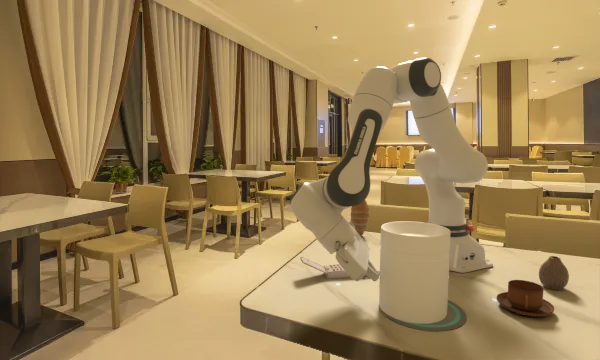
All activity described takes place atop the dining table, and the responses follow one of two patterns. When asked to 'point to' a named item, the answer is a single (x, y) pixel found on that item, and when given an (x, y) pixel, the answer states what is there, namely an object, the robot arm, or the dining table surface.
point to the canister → (414, 271)
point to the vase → (553, 273)
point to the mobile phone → (328, 269)
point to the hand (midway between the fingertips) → (377, 277)
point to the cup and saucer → (525, 299)
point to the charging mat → (450, 322)
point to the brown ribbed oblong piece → (360, 217)
